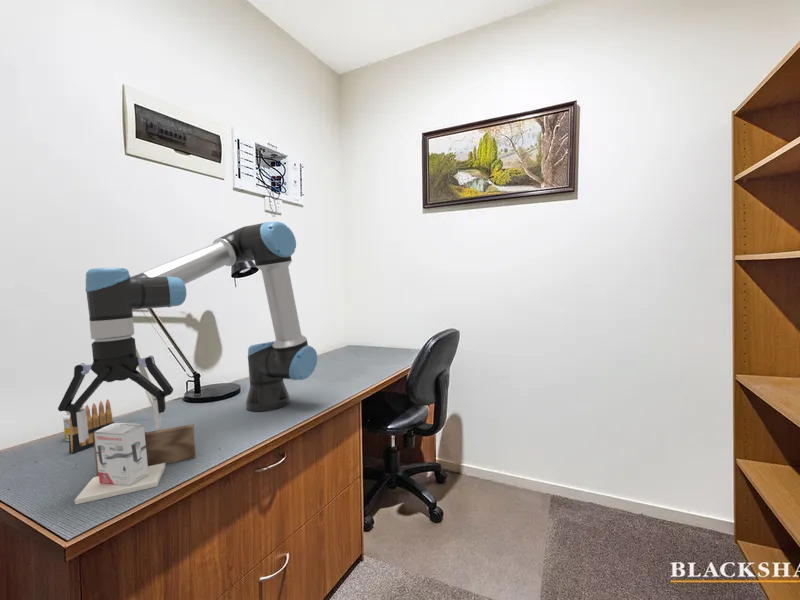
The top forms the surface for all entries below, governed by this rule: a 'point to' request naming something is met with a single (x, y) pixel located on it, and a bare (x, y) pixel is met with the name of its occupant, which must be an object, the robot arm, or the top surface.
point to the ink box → (121, 453)
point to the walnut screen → (167, 445)
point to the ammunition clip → (90, 427)
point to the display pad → (119, 486)
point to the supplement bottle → (67, 424)
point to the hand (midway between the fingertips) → (122, 433)
